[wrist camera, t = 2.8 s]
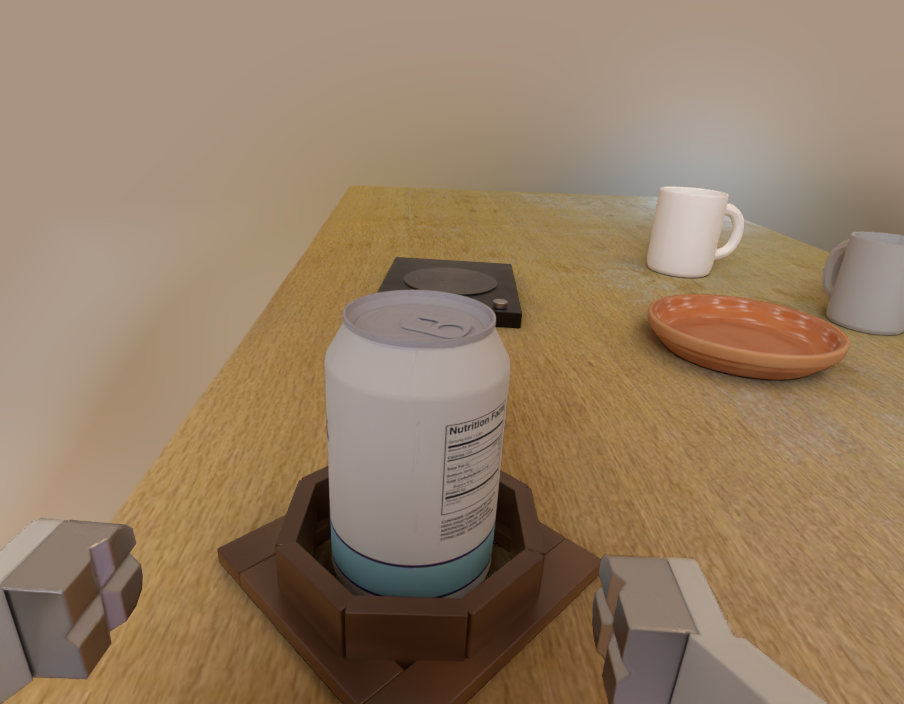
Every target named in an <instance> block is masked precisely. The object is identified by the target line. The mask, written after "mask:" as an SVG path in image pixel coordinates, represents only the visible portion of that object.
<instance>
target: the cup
mask: <svg viewBox="0 0 904 704" xmlns="http://www.w3.org/2000/svg"><path fill="white" fill-rule="evenodd" d="M822 283H823V289H824V291H825V293H826V295H828V296H829V297H830V301H829V304H828V308H827V312H826V314H827V317H828V318H829V320H831V321H832V322H834V323H836V324H838V325H840V326H843V327H846V328H849V329H852V330H856V331H860V332H865V333H870V334H877V335H899V334H901V333H902V332H904V236H903V235H896V234H889V233H879V232H853V233H851V236H850V239H849V240H846V241H844V242H842V243H841V244H839V245H837V246H836V247H835V248H834V249H833V250H832V252H831V253H830V255H829V257H828V258H827V260H826V263H825V266H824V270H823V276H822Z"/></svg>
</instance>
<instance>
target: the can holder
mask: <svg viewBox="0 0 904 704" xmlns="http://www.w3.org/2000/svg"><path fill="white" fill-rule="evenodd" d="M330 537H331V523H330V497H329V470H328V466H327V467H325V468H323V469H320V470H318V471H316V472H314V473H312V474H309V475H307V476H305V477H303V478H302V480H299V482H298V485H297V487H296V490H295V492H294V495H293V498H292V500H291V503H290V506H289V508H288V511H287V514H286V515H285V516H283V517H281V518H279V519H277V520H275V521H273V522H271V523H269V524H267V525H265V526H262V527H260V528H258V529H256V530H254V531H252V532H250V533H248V534H246V535H244V536H242V537H240V538H238V539H236V540H234V541H232V542H230V543H228V544H226V545H224V546H222V547H220V548H218V557H219V562H220V564H221V565H222V566H223V567H224V568H225V569H226V570H227V572H228V573H229V574H230V575H231V576H232V577H233V578H234V579H235V581H236V582H237V583H238V584H239V585H240V586H241V588H242V589H243V590H244V591H245V592H246V594H247V595H248V596H249V597H250V598H251V599H252V600H253V602H254V603H255V604H256V605H257V606H258V607H259V608H260V610H261V611H262V612H263V613H264V614H265V615H266V616H267V618H268V619H269V620H270V621H271V622H272V623H273V624H274V626H275V627H276V628H277V629H278V630H279V631H280V632H281V634H282V635H283V636H284V637H285V638H286V639H287V640H288V642H289V643H290V644H291V645H292V646H293V647H294V648H295V650H296V651H297V652H298V653H299V654H300V655H301V656H302V658H303V659H304V660H305V661H306V662H307V663H308V664H309V666H310V667H311V668H312V669H313V670H314V671H315V672H316V674H317V675H318V676H319V677H320V678H321V679H322V680H323V682H324V683H325V684H326V685H327V686H328V687H329V688H330V690H331V691H332V692H333V693H334V694H335V695H336V696H337V698H338V699H339V700H340V701H341V702H342V703H343V704H465V703H466V702H467V701H468V700H469V699H470V698H471V697H473V696H474V695H475V694H476V693H477V692H478V691H479V690H480V689H481V688H482V687H483V686H484V685H485V684H486V683H487V682H488V681H489V680H490V679H491V678H492V677H493V676H494V675H495V674H496V673H498V672H499V671H500V670H501V669H502V668H503V667H504V666H505V665H506V664H507V663H508V662H509V661H510V660H511V659H512V658H513V657H514V656H515V655H516V654H517V653H518V652H519V651H520V650H521V649H523V648H524V647H525V646H526V645H527V644H528V643H529V642H530V641H531V640H532V639H533V638H534V637H535V636H536V635H537V634H538V633H539V632H540V631H541V630H542V629H543V628H544V627H545V626H547V625H548V624H549V623H550V622H551V621H552V620H553V619H554V618H555V617H556V616H557V615H558V614H559V613H560V612H561V611H562V610H563V609H564V608H565V607H566V606H567V605H568V604H569V603H570V602H572V601H573V600H574V599H575V598H576V597H577V596H578V595H579V594H580V593H581V592H582V591H583V590H584V589H585V588H586V587H587V586H588V585H589V584H590V583H591V582H592V581H593V580H594V579H595V578H597V577H598V576H599V568H600V563H601V560H602V559H600V558H598V557H597V556H595V555H593V554H592V553H590V552H588V551H587V550H585V549H583V548H582V547H580V546H578V545H577V544H575V543H574V542H572V541H570V540H569V539H567V538H566V539H565V537H564V536H562V535H560V534H559V533H557V532H556V531H554V530H552V529H551V528H549V527H547V526H546V525H544V524H542V523H541V522H539V521H538V517H537V513H536V508H535V504H534V499H533V495H532V491H531V488H528V485H526V484H524V483H523V482H521V481H519V480H517V479H516V478H514V477H512V476H510V475H508V474H507V473H505V472H503V471H501V470H500V479H499V489H498V499H497V509H496V519H495V529H494V539H493V541H494V542H496V543H497V544H499V545H500V546H501V547H503V548H504V549H506V550H507V551H509V552H510V554H511V560H510V561H509V562H508V563H506V564H505V565H504V566H502V567H501V568H500V569H499V570H497V571H496V572H495V573H493V574H492V575H491V576H490V577H488V578H487V579H486V580H484V581H483V582H482V583H481V584H479V585H478V586H477V587H475V588H474V589H473V590H472V591H470V592H469V593H468V594H466V595H465V596H464V597H463V598H429V597H394V596H359V595H353V594H352V593H351V592H350V591H349V590H348V589H347V588H346V587H345V586H344V585H343V584H341V583H340V582H339V581H338V580H337V579H336V578H335V577H334V576H333V575H332V574H331V573H330V572H329V571H327V570H326V569H325V568H324V567H323V566H322V565H321V564H320V563H319V562H318V561H317V560H316V559H315V558H313V557H312V555H313V551H314V548H315V546H316V545H318V544H319V543H321V542H323V541H325V540H327V539H328V538H330Z"/></svg>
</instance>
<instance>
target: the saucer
mask: <svg viewBox="0 0 904 704" xmlns="http://www.w3.org/2000/svg"><path fill="white" fill-rule="evenodd" d="M648 322H649V325H650V326H651V328H652V329H653V330H654V332H655V334H656V335H657V336H658V337H659V338H660V339H661V340H662V342H663V343H664V344H665V346H666V347H667V348H668V349H670V350H671V351H672V352H673V353H675V354H676V355H678V356H680V357H682V358H684V359H686V360H688V361H690V362H692V363H695V364H697V365H700V366H703V367H706V368H709V369H712V370H716V371H719V372H724V373H728V374H733V375H738V376H744V377H750V378H759V379H772V380H783V379H796V378H801V377H805V376H808V375H811V374H813V373H815V372H818V371H820V370H824V369H826V368H828V367H830V366H832V365H833V364H836V363H838V362H840V361H841V360H842V359H843V358H844V357H845V355H846V353H847V351H848V349H849V347H850V341H849V339H848V337H847V336H846V335H845V334H844V333H843V332H842V331H841V330H840V329H838V328H837V327H835V326H834V325H832V324H830V323H828V322H826V321H824V320H822V319H820V318H818V317H815V316H813V315H810V314H807V313H804V312H801V311H798V310H795V309H792V308H788V307H785V306H781V305H777V304H773V303H768V302H764V301H758V300H753V299H747V298H741V297H733V296H724V295H710V294H683V295H674V296H668V297H664V298H661V299H658V300H656V301H654V302H653V303H652V304H651V305H650V306H649V309H648Z"/></svg>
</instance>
